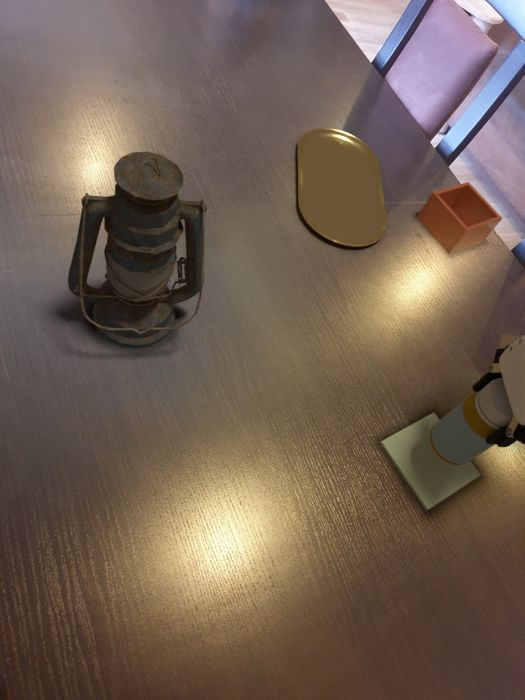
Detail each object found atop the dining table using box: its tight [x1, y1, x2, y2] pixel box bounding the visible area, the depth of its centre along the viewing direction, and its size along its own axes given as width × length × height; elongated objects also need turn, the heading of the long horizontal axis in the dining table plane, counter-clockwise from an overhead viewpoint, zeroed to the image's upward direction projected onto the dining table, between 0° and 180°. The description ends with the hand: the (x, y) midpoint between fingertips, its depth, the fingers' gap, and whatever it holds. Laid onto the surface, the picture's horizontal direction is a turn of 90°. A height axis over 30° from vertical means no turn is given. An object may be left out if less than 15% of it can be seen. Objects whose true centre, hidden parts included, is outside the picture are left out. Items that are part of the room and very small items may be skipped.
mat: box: [379, 412, 481, 512], centre depth 89 cm, size 12×12×1 cm
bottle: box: [430, 378, 514, 465], centre depth 78 cm, size 7×7×15 cm
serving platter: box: [297, 127, 388, 248], centre depth 118 cm, size 19×35×2 cm, turn 179°
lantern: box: [67, 151, 208, 350], centre depth 77 cm, size 19×14×30 cm
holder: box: [416, 181, 503, 255], centre depth 118 cm, size 11×11×7 cm
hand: (489, 415), depth 76 cm, fingers closed on bottle, 7 cm apart
